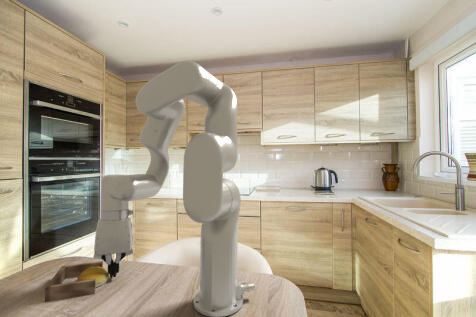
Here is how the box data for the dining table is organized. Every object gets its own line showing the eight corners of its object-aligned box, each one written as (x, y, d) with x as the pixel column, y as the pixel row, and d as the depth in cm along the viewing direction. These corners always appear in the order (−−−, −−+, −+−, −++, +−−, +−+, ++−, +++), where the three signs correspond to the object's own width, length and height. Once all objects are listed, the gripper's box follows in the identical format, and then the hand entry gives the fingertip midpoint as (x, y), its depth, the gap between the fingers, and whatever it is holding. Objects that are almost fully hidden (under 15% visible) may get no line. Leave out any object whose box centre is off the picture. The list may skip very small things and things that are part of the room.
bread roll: (73, 293, 64) (74, 278, 65) (78, 279, 72) (79, 266, 73) (108, 287, 68) (108, 272, 68) (109, 274, 76) (109, 261, 76)
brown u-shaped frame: (102, 271, 77) (102, 260, 77) (94, 293, 64) (95, 280, 64) (61, 277, 73) (62, 266, 73) (44, 302, 60) (45, 288, 60)
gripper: (141, 211, 79) (140, 267, 79) (89, 214, 73) (87, 274, 73) (141, 215, 72) (139, 277, 72) (83, 219, 67) (81, 286, 66)
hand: (113, 275), depth 72 cm, fingers closed
